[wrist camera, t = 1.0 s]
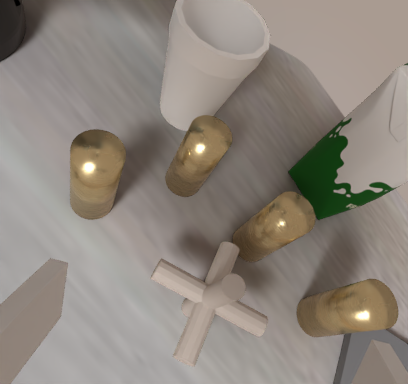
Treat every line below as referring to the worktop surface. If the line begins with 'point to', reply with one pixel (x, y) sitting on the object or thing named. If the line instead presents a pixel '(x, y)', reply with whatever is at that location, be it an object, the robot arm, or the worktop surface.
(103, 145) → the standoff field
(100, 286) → the worktop surface
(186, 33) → the foam cup
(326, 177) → the milk carton
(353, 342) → the rubber mat
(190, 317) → the pipe connector
